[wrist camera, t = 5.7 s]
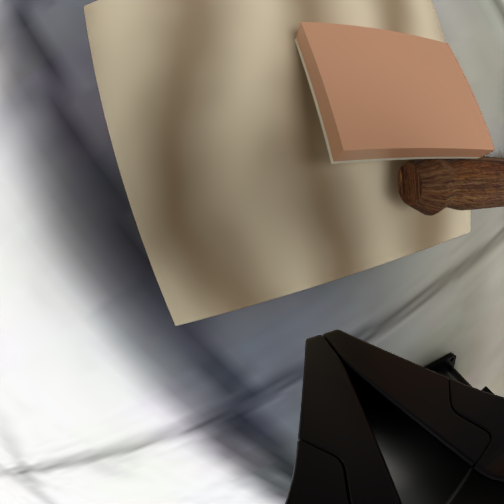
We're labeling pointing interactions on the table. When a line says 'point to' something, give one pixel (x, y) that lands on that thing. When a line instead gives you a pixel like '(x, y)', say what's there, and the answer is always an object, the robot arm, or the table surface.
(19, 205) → the table surface
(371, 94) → the tile
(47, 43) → the table surface
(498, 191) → the meat cleaver
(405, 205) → the board
